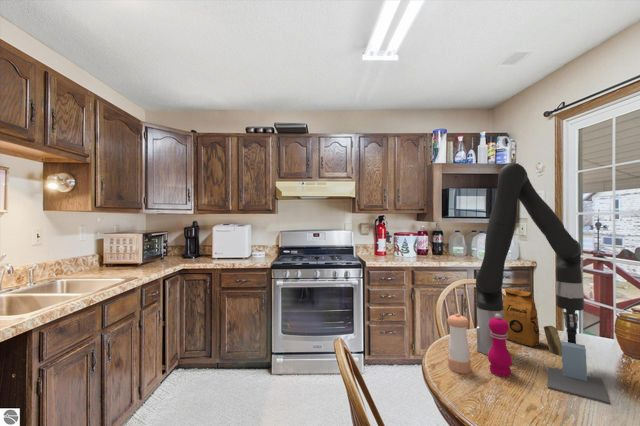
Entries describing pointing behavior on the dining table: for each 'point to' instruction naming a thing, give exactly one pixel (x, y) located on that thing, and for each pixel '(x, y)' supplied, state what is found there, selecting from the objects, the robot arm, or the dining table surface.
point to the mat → (577, 385)
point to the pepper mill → (499, 348)
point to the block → (574, 360)
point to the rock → (553, 340)
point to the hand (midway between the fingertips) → (571, 344)
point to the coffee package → (521, 317)
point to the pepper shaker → (458, 344)
